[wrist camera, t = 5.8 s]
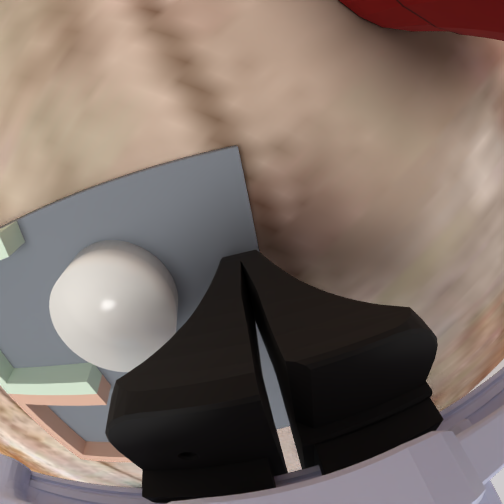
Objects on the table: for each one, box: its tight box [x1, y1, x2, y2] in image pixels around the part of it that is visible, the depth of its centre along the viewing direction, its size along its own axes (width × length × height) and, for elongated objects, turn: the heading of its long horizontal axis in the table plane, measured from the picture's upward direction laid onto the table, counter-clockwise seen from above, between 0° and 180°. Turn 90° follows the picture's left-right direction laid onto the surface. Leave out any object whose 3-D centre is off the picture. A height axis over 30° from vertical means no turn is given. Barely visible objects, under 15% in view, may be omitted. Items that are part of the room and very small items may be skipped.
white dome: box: [49, 240, 178, 372], centre depth 10 cm, size 5×5×2 cm
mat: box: [0, 145, 290, 442], centre depth 13 cm, size 18×19×1 cm
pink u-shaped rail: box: [9, 375, 132, 462], centre depth 14 cm, size 9×8×1 cm
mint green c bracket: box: [0, 221, 102, 395], centre depth 10 cm, size 9×8×1 cm
